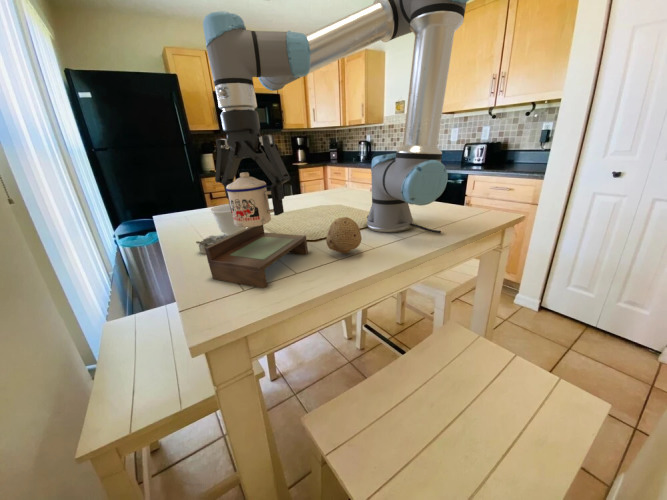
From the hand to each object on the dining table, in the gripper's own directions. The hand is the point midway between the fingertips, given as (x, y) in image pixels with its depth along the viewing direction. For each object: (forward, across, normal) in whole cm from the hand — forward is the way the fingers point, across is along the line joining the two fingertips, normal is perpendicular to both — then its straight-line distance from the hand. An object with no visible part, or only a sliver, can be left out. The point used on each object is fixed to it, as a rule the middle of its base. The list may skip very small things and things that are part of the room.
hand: (257, 212), depth 64 cm
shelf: (+14, -1, 0) cm, 14 cm away
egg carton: (+14, -22, +6) cm, 27 cm away
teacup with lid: (+3, 0, 0) cm, 3 cm away
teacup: (+14, -25, +18) cm, 34 cm away
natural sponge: (+14, +17, +12) cm, 25 cm away
